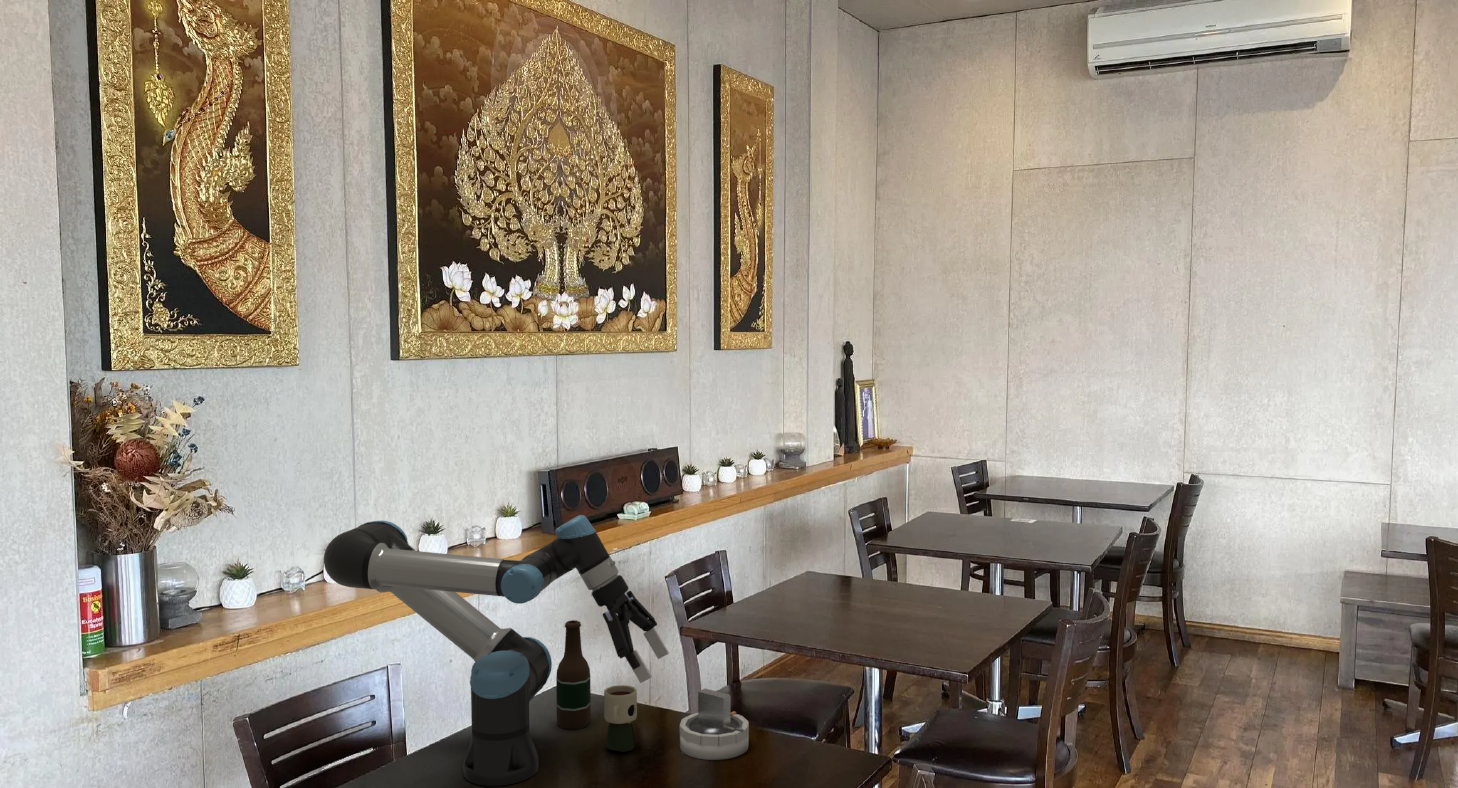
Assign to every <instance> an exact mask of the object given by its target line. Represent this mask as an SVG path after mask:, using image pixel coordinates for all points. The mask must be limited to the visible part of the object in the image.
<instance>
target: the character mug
mask: <svg viewBox="0 0 1458 788" xmlns="http://www.w3.org/2000/svg"><path fill="white" fill-rule="evenodd" d="M637 703H638V690H637V688H636V687H634V686H631V685H625V684H624V685H623V684H619V685H611V686H609V687H606V688H605V689H604V690H603V715H604V716H603V718H604V719H603V720H604V721H606V722H607V723H609V724H608V725H607V733H606V744H605V745H606V746H605V747H606V749H607V750H611V751H615V752H618V753H619V752H624V753H625V752H630V751H632V750H633V749H635V745H636V740H635V739H636V738H635V733H634V732H635V731H634V725H633V723H632V722H633V721H635V720H636V719H637V716H638V704H637Z"/></svg>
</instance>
